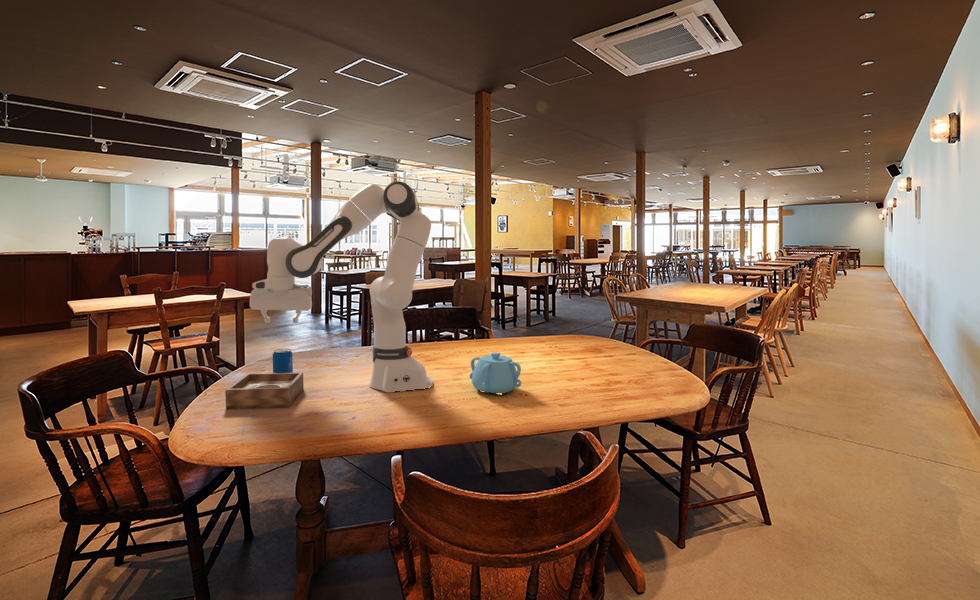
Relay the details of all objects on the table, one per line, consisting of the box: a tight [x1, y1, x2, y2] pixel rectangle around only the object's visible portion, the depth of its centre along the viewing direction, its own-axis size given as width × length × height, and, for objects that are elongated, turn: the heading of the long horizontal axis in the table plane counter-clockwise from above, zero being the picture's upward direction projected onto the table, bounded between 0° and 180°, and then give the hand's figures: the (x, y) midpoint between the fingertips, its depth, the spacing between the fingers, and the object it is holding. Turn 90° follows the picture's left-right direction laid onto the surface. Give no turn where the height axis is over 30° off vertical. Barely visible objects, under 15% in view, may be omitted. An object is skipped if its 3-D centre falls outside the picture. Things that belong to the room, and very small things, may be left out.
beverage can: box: [272, 348, 294, 373], centre depth 166 cm, size 6×6×12 cm
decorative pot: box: [469, 351, 522, 394], centre depth 163 cm, size 16×16×14 cm
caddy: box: [224, 372, 305, 410], centre depth 149 cm, size 18×18×6 cm
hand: (281, 322), depth 164 cm, fingers open, 8 cm apart
